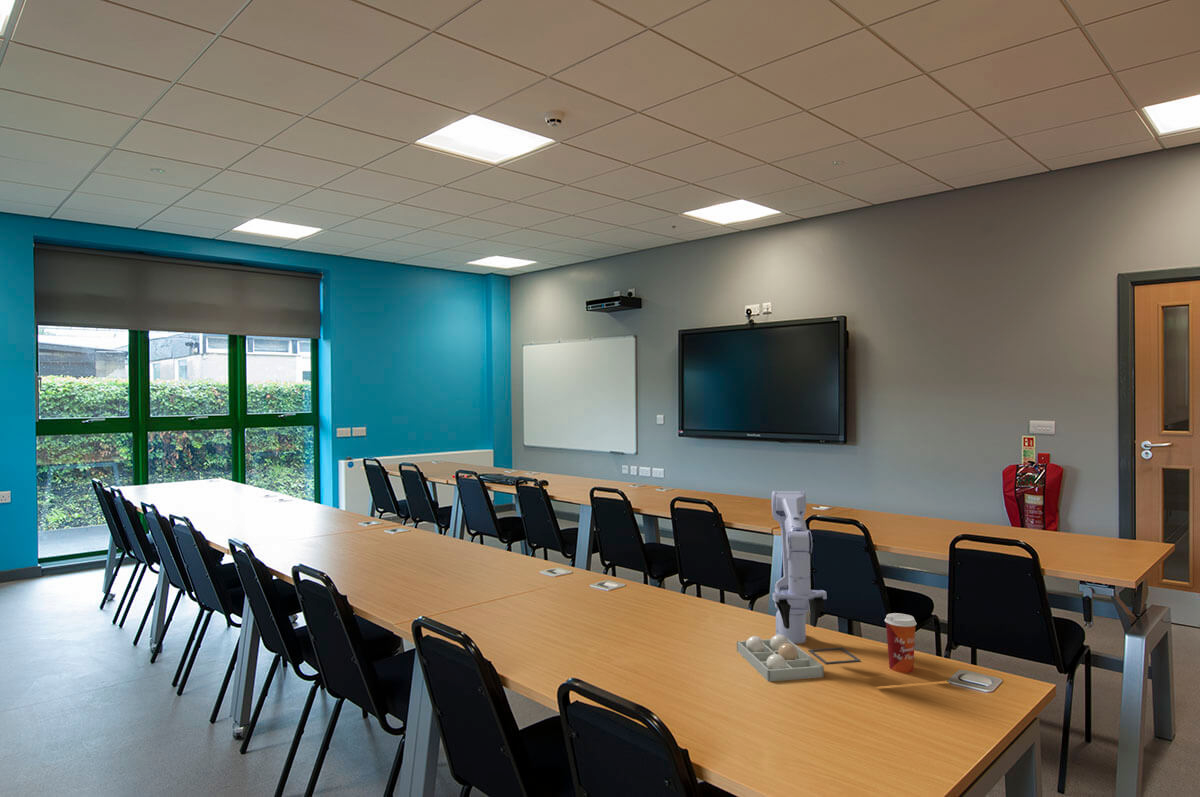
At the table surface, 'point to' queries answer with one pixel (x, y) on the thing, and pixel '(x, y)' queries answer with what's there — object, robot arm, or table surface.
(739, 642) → the tray
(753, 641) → the white egg
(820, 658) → the coaster
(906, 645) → the paper cup
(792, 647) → the beige ball
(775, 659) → the white egg
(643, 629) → the table surface
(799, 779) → the table surface
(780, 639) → the white egg
